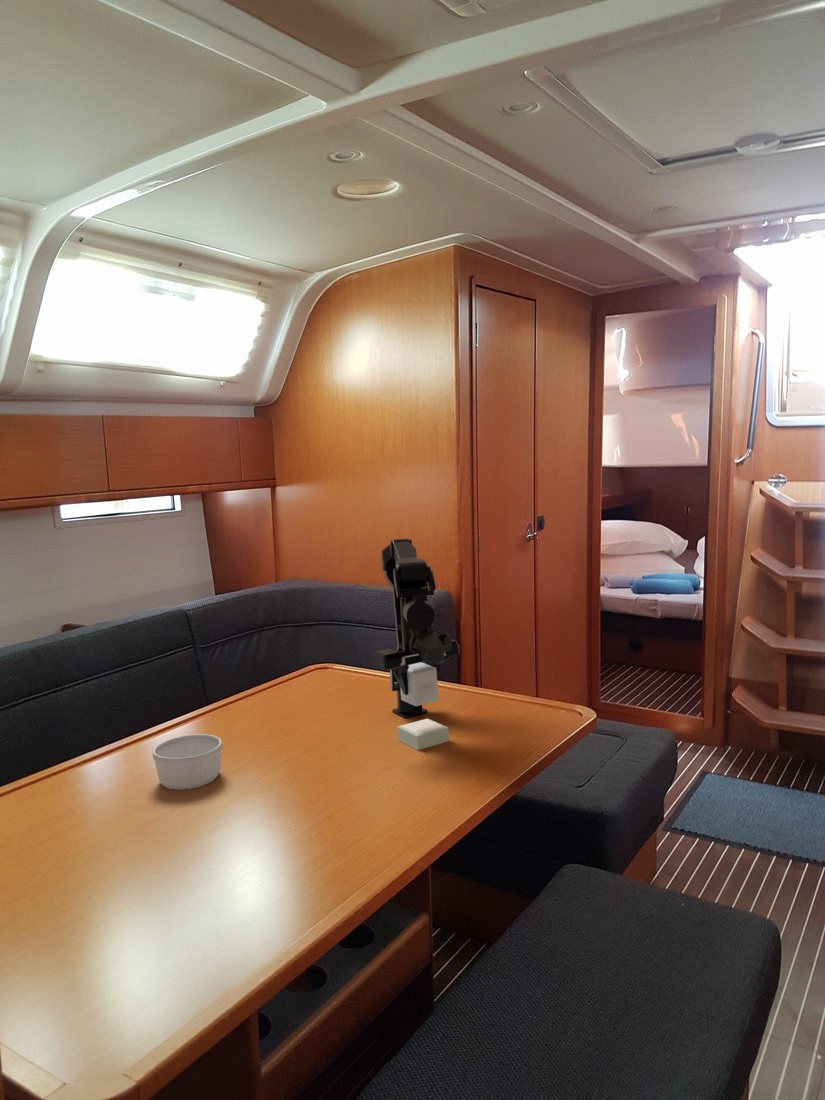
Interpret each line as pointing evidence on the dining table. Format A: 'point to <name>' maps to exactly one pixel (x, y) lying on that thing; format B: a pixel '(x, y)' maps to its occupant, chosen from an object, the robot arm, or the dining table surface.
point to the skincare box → (421, 684)
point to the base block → (423, 734)
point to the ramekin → (188, 761)
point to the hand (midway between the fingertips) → (418, 691)
